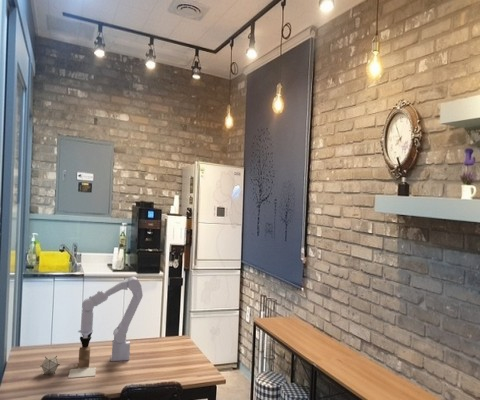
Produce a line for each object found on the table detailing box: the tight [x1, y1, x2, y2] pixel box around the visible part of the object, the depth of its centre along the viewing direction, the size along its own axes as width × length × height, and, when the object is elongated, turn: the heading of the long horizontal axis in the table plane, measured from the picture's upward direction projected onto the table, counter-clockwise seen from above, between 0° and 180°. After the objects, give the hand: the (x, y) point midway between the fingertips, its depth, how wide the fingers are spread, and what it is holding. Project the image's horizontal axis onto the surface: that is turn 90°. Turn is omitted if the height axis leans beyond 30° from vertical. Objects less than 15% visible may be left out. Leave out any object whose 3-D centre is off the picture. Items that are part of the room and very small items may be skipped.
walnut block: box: [77, 346, 91, 369], centre depth 201 cm, size 5×5×9 cm
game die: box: [39, 355, 61, 376], centre depth 191 cm, size 9×8×10 cm
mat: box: [67, 367, 97, 379], centre depth 193 cm, size 12×10×1 cm
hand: (85, 347), depth 208 cm, fingers open, 7 cm apart
